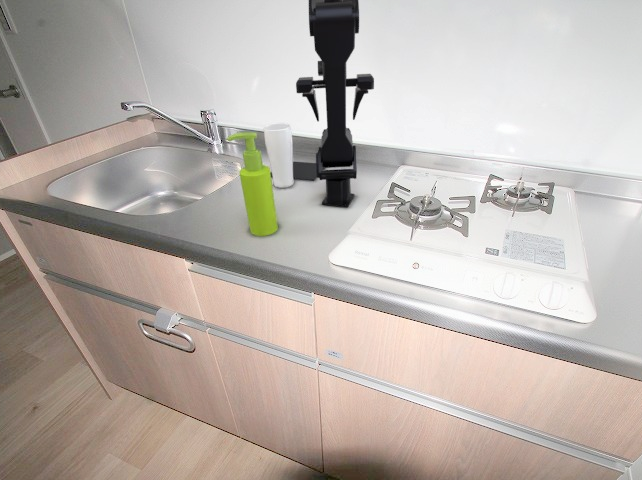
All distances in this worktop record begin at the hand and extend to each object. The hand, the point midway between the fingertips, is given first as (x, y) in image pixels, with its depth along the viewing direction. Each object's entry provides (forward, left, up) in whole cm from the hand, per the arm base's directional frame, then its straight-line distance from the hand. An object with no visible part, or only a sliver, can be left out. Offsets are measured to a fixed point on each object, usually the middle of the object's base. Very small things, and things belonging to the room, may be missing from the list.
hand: (335, 120), depth 94 cm
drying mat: (-2, +11, -14) cm, 18 cm away
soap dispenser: (-35, +6, -14) cm, 38 cm away
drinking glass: (-12, +11, -14) cm, 21 cm away
